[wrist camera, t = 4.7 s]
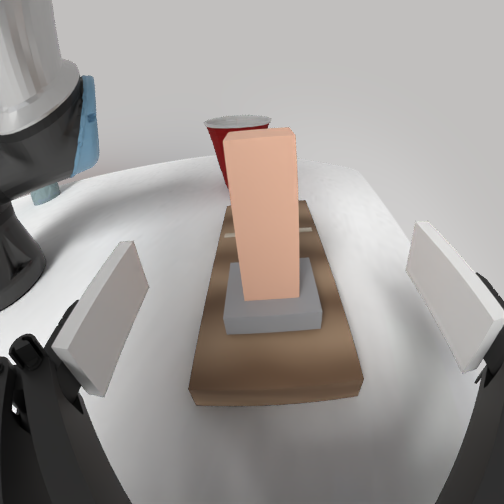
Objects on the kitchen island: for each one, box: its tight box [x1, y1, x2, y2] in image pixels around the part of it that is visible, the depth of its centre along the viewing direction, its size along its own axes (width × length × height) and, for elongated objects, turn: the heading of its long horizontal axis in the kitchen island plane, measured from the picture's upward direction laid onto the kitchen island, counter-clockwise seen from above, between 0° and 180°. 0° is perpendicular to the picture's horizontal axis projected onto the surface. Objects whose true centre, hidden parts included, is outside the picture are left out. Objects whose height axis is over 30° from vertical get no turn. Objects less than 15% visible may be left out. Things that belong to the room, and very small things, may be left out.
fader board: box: [188, 200, 364, 406], centre depth 26 cm, size 26×10×2 cm, turn 179°
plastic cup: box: [204, 115, 271, 189], centre depth 46 cm, size 11×11×12 cm
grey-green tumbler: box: [31, 182, 60, 205], centre depth 62 cm, size 10×10×12 cm
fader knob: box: [223, 127, 322, 335], centre depth 18 cm, size 6×6×12 cm
